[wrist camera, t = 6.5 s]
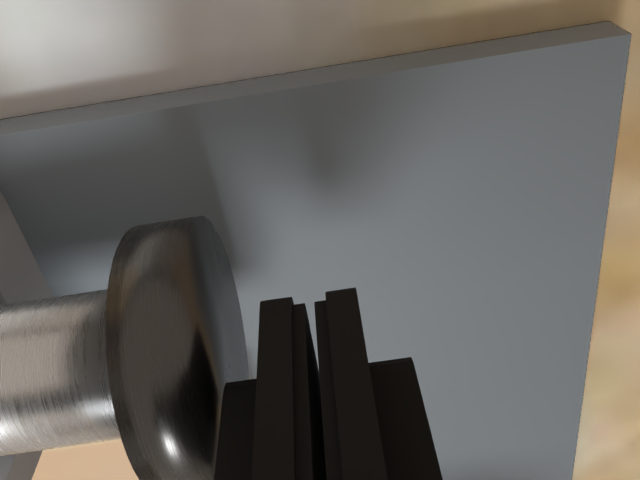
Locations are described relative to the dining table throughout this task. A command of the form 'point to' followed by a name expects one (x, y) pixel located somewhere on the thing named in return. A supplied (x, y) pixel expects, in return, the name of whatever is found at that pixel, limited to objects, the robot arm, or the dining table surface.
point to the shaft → (130, 356)
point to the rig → (361, 222)
